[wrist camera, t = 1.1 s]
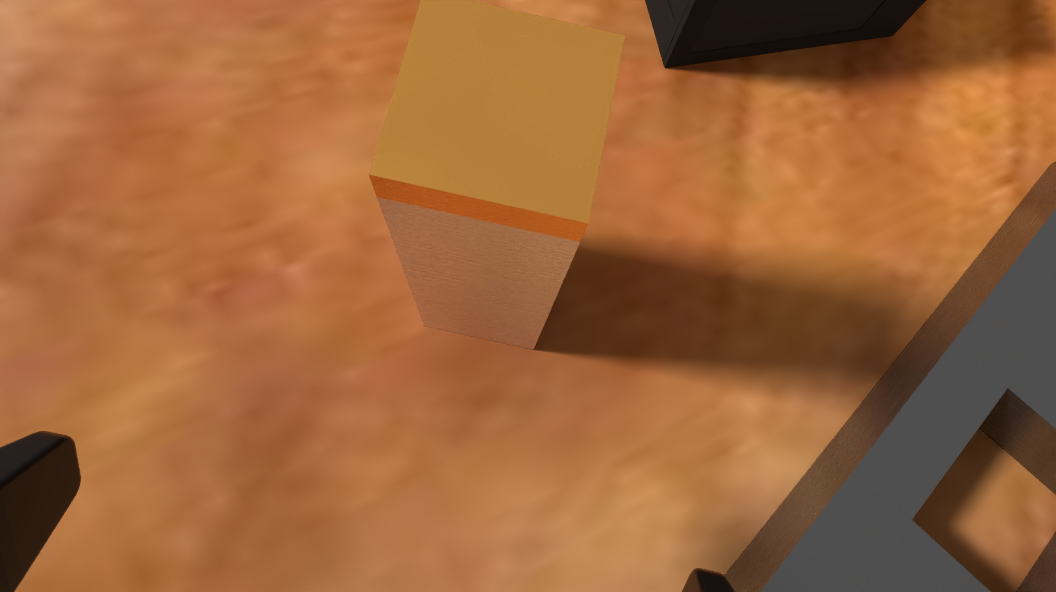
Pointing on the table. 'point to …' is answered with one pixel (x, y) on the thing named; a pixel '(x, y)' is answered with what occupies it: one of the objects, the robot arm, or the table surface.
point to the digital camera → (767, 25)
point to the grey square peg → (493, 162)
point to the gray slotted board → (930, 431)
